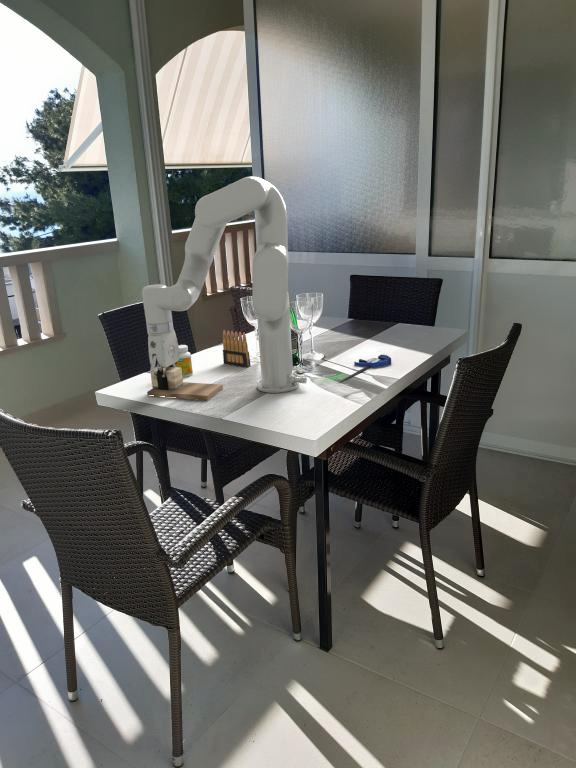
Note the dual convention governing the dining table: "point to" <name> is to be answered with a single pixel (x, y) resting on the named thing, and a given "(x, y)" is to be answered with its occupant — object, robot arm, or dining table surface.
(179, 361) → the supplement bottle
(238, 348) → the ammunition clip
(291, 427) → the dining table surface
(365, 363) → the bar clamp
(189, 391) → the board
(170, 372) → the block
